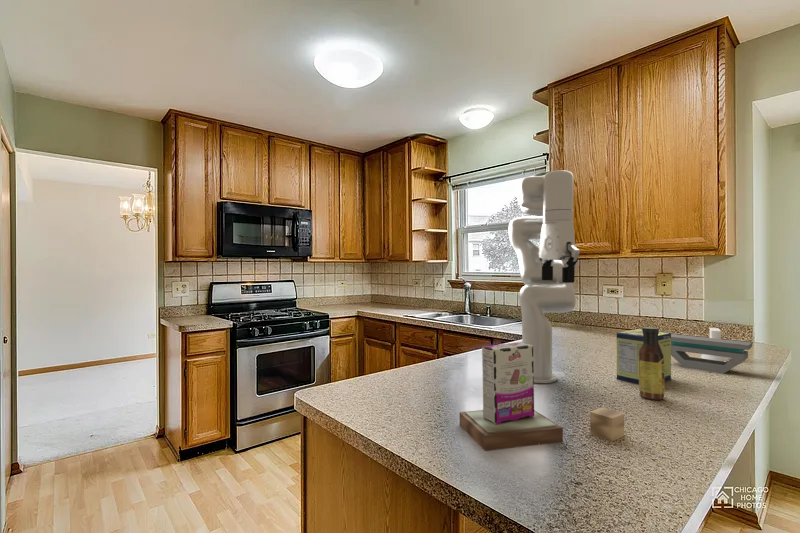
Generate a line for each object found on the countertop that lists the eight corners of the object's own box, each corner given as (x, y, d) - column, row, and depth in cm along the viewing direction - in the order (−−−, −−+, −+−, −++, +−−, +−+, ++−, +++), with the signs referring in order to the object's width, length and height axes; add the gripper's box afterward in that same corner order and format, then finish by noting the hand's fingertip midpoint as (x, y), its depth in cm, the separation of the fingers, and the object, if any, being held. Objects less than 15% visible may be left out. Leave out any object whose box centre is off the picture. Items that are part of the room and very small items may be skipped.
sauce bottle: (668, 401, 113) (668, 330, 113) (643, 400, 115) (643, 329, 115) (658, 394, 120) (658, 326, 120) (635, 393, 121) (635, 325, 121)
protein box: (671, 379, 136) (671, 332, 136) (649, 387, 127) (649, 337, 127) (638, 372, 145) (638, 328, 144) (615, 379, 136) (615, 332, 136)
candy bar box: (519, 410, 97) (519, 341, 97) (535, 417, 93) (535, 345, 93) (481, 417, 93) (481, 345, 93) (495, 425, 88) (495, 349, 88)
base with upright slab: (730, 363, 158) (730, 331, 158) (701, 360, 163) (702, 329, 163) (727, 358, 166) (728, 328, 166) (700, 355, 171) (700, 327, 170)
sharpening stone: (663, 364, 156) (663, 335, 156) (669, 361, 161) (669, 333, 161) (748, 377, 138) (748, 345, 137) (752, 373, 143) (752, 342, 143)
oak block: (590, 433, 92) (590, 411, 92) (602, 428, 95) (602, 407, 95) (612, 441, 88) (612, 418, 88) (624, 436, 91) (624, 413, 91)
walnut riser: (459, 424, 97) (459, 410, 97) (527, 417, 101) (527, 404, 101) (485, 450, 84) (485, 434, 83) (562, 441, 88) (562, 426, 88)
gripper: (528, 220, 118) (528, 279, 118) (564, 214, 101) (563, 284, 102) (552, 220, 119) (551, 279, 120) (591, 215, 102) (590, 283, 103)
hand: (557, 281), depth 111 cm, fingers open, 9 cm apart
